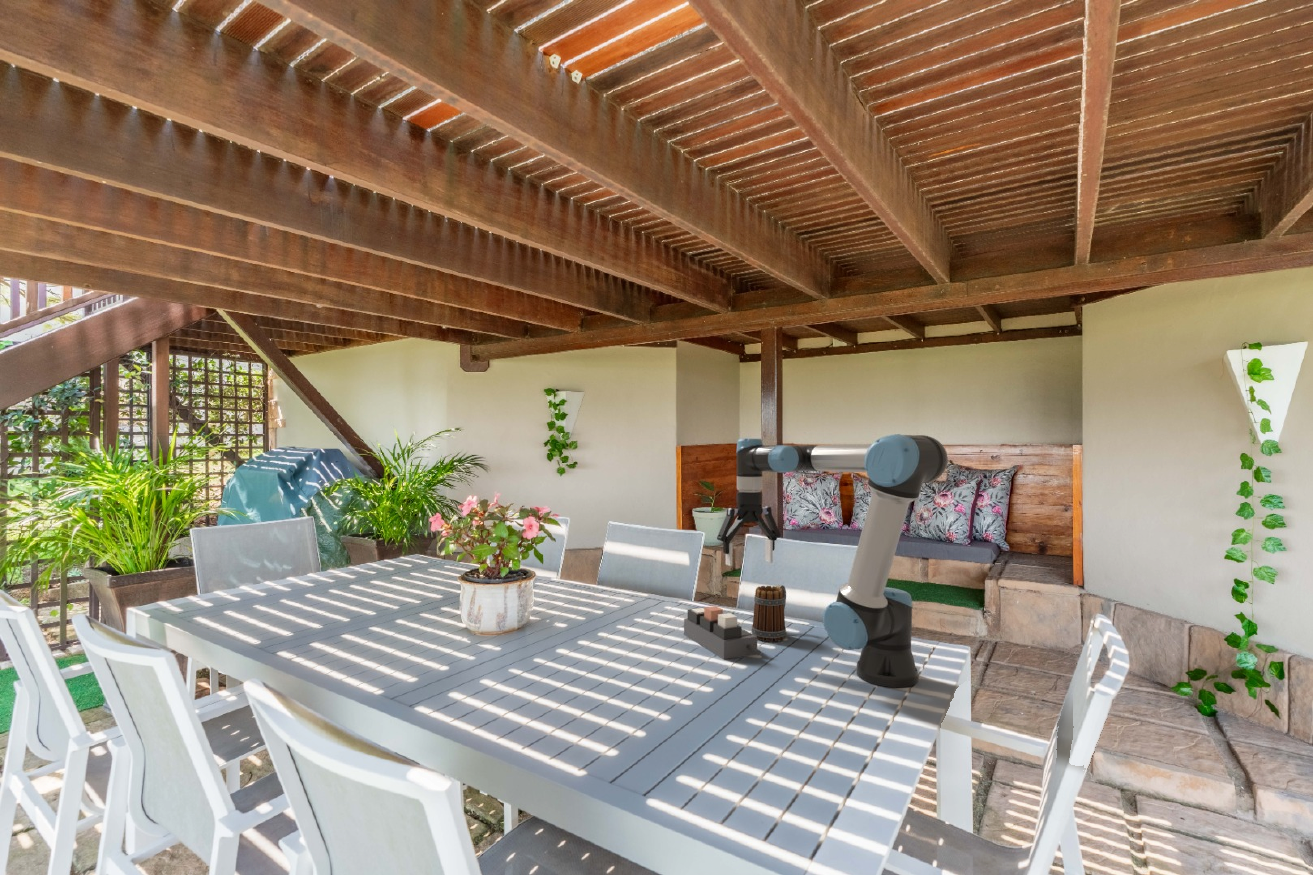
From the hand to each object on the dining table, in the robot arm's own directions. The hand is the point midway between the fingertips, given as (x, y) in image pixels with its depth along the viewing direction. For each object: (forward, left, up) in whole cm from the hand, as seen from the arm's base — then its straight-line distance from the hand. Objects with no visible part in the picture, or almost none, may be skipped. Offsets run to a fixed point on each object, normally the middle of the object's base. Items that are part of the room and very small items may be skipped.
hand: (749, 563), depth 191 cm
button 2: (+7, +8, -17) cm, 20 cm away
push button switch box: (+4, +6, -25) cm, 26 cm away
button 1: (-1, +8, -17) cm, 19 cm away
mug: (+8, -14, -25) cm, 30 cm away
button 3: (+15, +8, -20) cm, 26 cm away
